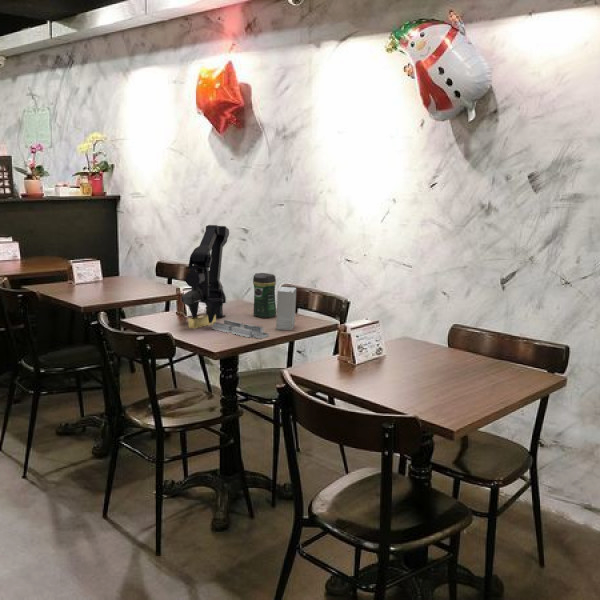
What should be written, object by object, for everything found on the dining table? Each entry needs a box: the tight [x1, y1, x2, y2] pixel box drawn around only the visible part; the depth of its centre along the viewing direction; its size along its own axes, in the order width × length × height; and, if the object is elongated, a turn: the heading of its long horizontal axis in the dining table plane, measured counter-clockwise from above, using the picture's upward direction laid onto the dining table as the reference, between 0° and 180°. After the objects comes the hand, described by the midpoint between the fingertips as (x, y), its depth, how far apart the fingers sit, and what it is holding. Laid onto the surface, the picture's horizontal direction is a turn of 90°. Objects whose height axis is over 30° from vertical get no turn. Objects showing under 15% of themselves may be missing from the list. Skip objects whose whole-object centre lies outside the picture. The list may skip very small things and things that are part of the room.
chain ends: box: [212, 319, 270, 340], centre depth 252 cm, size 8×24×3 cm, turn 50°
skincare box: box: [275, 286, 297, 331], centre depth 258 cm, size 8×7×16 cm
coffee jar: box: [252, 272, 277, 319], centre depth 279 cm, size 10×8×19 cm
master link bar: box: [188, 313, 217, 330], centre depth 263 cm, size 3×12×4 cm, turn 141°
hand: (202, 321), depth 263 cm, fingers open, 9 cm apart
